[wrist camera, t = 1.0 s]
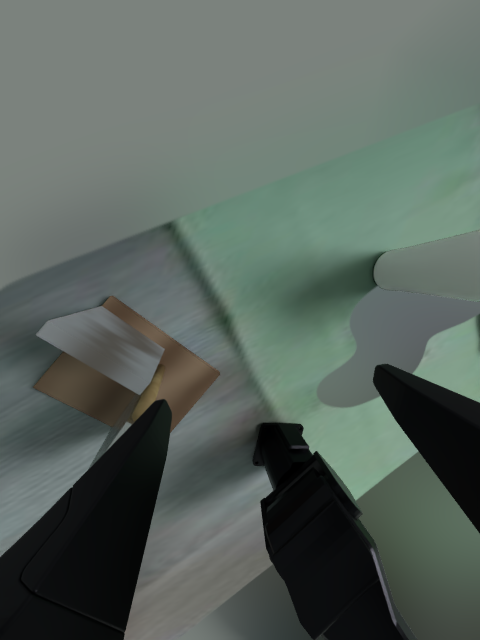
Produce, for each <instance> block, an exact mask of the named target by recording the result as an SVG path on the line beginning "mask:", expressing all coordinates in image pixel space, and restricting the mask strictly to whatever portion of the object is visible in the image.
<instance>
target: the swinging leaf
mask: <svg viewBox="0 0 480 640" xmlns="http://www.w3.org/2000/svg"><path fill="white" fill-rule="evenodd" d="M142 393H143V392H142ZM142 393H141V394H140V395H138V394H137V393H136V394H135V396H134V397H133V399H132V400H131V402H130V403H129V404H128V406H127V407H126V409H125V410H124V411H123V413H122V414H121V416H120V417H119V418H118V420H117V421H116V423H115V424H114V426H113V427H112V428H111V430H110V432H109V433H108V435H107V437H106V439H105V441H104V442H103V444H102V446H101V448H100V449H99V451H98V453H97V455H96V456H95V458H94V460H93V462H92V464H91V465H90V467H91V466H92V465H93V464H94V463H95V462H96V461H97V460H98V459H99V458H100V457H101V456H102V455H103V454H104V453H105V452H106V451H107V450H108V449H109V448H110V447H111V446H112V445H113V444H114V443H115V442H116V441H117V439H118V438H119V437H120V436H121V435H122V434H123V433H124V432H125V431H126V430H127V429H128V428H129V427H130V426H131V425H132V424H133V423H134V421H133V419H132V415H133V412H134V410H135V408H136V406H137V404H138V402H139V399H140V397H141V395H142ZM90 467H89V468H90Z"/></svg>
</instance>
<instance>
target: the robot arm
mask: <svg viewBox="0 0 480 640" xmlns="http://www.w3.org/2000/svg"><path fill="white" fill-rule="evenodd" d="M373 383H374V385H375V387H376V389H377V390H378V392H379V394H380V395H381V397H382V399H383V400H384V402H385V404H386V405H387V407H388V409H389V410H390V412H391V414H392V415H393V417H394V418H395V420H396V421H397V423H398V424H399V425H400V427H401V428H402V430H403V431H404V432H405V434H406V435H407V436H408V438H409V439H410V440H411V442H412V443H413V444H414V446H415V447H416V448H417V450H418V451H419V452H420V454H421V455H422V456H423V458H424V459H425V460H426V462H427V463H428V464H429V466H430V467H431V468H432V470H433V471H434V472H435V474H436V475H437V476H438V478H439V479H440V481H441V482H442V483H443V485H444V486H445V487H446V489H447V490H448V491H449V493H450V494H451V495H452V497H453V498H454V499H455V501H456V502H457V503H458V505H459V506H460V507H461V509H462V510H463V511H464V513H465V514H466V516H467V517H468V518H469V520H470V521H471V522H472V524H473V525H474V526H475V528H476V529H477V530H478V532H479V533H480V403H479V402H477V401H474V400H472V399H470V398H467V397H465V396H462V395H460V394H458V393H455V392H453V391H451V390H448V389H446V388H444V387H441V386H439V385H436V384H434V383H432V382H429V381H427V380H425V379H422V378H420V377H418V376H415V375H413V374H410V373H408V372H406V371H403V370H401V369H399V368H396V367H394V366H392V365H389V364H381V365H377V366H376V367H375V371H374V377H373ZM171 422H172V411H171V409H170V407H169V405H168V403H167V401H166V400H165V399H160V400H156V401H154V402H153V403H152V404H151V405H150V406H149V407H148V408H147V409H146V410H145V412H144V413H143V414H142V415H141V416H140V417H139V418H138V419H137V420H136V421H135V422H134V423H133V424H132V425H131V426H130V427H129V428H128V429H127V430H126V431H125V432H124V433H123V434H122V435H121V436H120V437H119V438H118V439H117V441H116V442H115V443H114V444H113V445H112V446H111V447H110V448H109V449H108V450H107V451H106V452H105V453H104V454H103V455H102V456H101V457H100V458H99V459H98V460H97V461H96V462H95V463H94V464H93V465H92V466H91V467H90V468H89V469H88V471H87V472H86V473H85V474H84V475H83V476H82V477H81V478H80V479H79V480H78V481H77V482H76V483H75V484H74V485H73V488H70V489H69V490H68V491H67V492H66V493H65V494H64V495H63V496H62V497H61V498H60V499H59V500H58V501H57V502H56V503H55V504H54V505H53V506H52V507H51V508H50V510H49V511H48V512H47V513H46V514H45V515H44V516H43V517H42V518H41V519H40V520H39V521H38V522H37V523H35V524H34V525H33V526H32V527H31V528H30V529H29V530H28V531H27V532H26V533H25V534H24V535H23V536H22V537H21V538H20V539H19V540H18V541H17V542H16V543H15V544H14V545H13V546H12V547H10V548H9V549H8V550H7V551H6V552H5V553H4V554H3V555H2V556H1V557H0V640H124V635H125V634H124V632H125V630H126V626H127V622H128V618H129V613H130V609H131V605H132V601H133V597H134V592H135V588H136V584H137V580H138V575H139V571H140V567H141V563H142V558H143V554H144V550H145V546H146V542H147V537H148V533H149V529H150V525H151V520H152V516H153V512H154V508H155V504H156V499H157V495H158V491H159V487H160V482H161V478H162V474H163V470H164V465H165V461H166V456H167V451H168V444H169V436H170V429H171ZM264 427H265V428H264ZM303 429H304V428H303V426H302V425H301V424H286V423H263V424H262V425H261V428H260V432H259V436H258V440H257V444H256V449H255V453H254V457H253V464H254V466H265V469H266V472H267V474H268V477H269V480H270V482H271V485H272V488H273V492H271V493H270V494H269V495H268V496H267V497H266V498H263V499H262V500H261V501H260V503H261V511H262V519H263V528H264V536H265V543H266V549H267V551H268V553H269V557H270V560H271V562H272V563H273V564H274V566H275V568H276V570H277V572H278V573H279V575H280V576H281V577H282V579H283V580H284V581H285V583H286V586H287V588H288V591H289V593H290V596H291V599H292V602H293V604H294V607H295V610H296V613H297V615H298V618H299V621H300V623H301V625H302V626H303V627H304V629H305V630H306V631H307V632H308V634H309V635H310V636H311V638H312V639H314V640H317V638H319V637H320V636H322V637H323V638H324V639H325V640H417V638H416V637H415V635H414V634H413V632H412V631H411V629H410V627H409V626H408V625H407V623H406V621H405V620H404V618H403V617H402V615H401V614H400V612H399V610H398V609H397V607H396V606H395V603H394V600H393V597H392V594H391V591H390V587H389V584H388V581H387V578H386V574H385V571H384V568H383V564H382V561H381V558H380V555H379V552H378V548H377V545H376V543H375V541H374V539H373V538H372V536H371V535H370V534H369V532H368V531H367V529H366V528H365V526H364V525H363V524H362V522H361V521H360V519H359V517H360V516H361V515H362V514H363V513H362V511H361V510H360V508H359V506H358V504H357V503H356V501H355V499H354V497H353V496H352V494H351V492H350V491H349V489H348V488H347V487H346V485H345V484H344V483H343V481H342V480H341V479H340V477H339V476H338V475H337V474H336V472H335V471H334V470H333V469H332V468H331V466H330V465H329V464H328V463H327V462H326V461H325V460H324V458H323V457H322V456H321V455H320V454H319V453H318V452H317V451H316V452H315V453H314V455H312V453H311V452H310V450H309V446H308V444H307V443H306V442H305V440H304V439H303V437H302V433H303ZM256 461H257V462H256Z"/></svg>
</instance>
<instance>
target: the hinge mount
mask: <svg viewBox="0 0 480 640" xmlns="http://www.w3.org/2000/svg"><path fill="white" fill-rule="evenodd" d="M36 336H38V337H40V338H41V339H43V340H45V341H47V342H48V343H50V344H52V345H53V346H55V347H57V348H59V349H60V350H62V351H63V352H62V353H61V355H60V356H59V357H58V358H57V359H56V361H55V362H54V363H53V364H52V365H51V366H50V368H49V369H48V370H47V371H46V372H45V374H44V375H43V376H42V377H41V378H40V379H39V381H38V382H37V383H36V384H35V385H34V386H33V388H35V389H37V390H39V391H41V392H43V393H45V394H47V395H49V396H51V397H53V398H55V399H57V400H59V401H61V402H63V403H65V404H67V405H69V406H71V407H73V408H75V409H77V410H79V411H81V412H83V413H85V414H87V415H89V416H91V417H93V418H95V419H97V420H99V421H101V422H103V423H105V424H107V425H109V426H111V427H113V426H114V424H115V423H116V421H117V420H118V418H119V417H120V416H121V414H122V413H123V411H124V410H125V409H126V407H127V406H128V404H129V403H130V402H131V400H132V399H133V397H134V396H135V394H136V393H137V394H138V395H140V394H141V393H142V392H143V393H142V395H141V397H140V399H139V402H138V404H137V406H136V408H135V410H134V412H133V415H132V419H133V421H134V422H135V421H136V420H137V419H138V418H139V417H140V416H141V415H142V414H143V413H144V412H145V410H146V409H147V408H148V407H149V406H150V405H151V404H152V403H153V402H154V401H156V400H160V399H165V400H166V401H167V403H168V405H169V407H170V409H171V411H172V422H171V429H170V433H171V431H172V430H173V429H174V428H175V427H176V426H177V424H178V423H179V422H180V421H181V420H182V419H183V417H184V416H185V415H186V414H187V413H188V411H189V410H190V409H191V408H192V407H193V406H194V404H195V403H196V402H197V401H198V400H199V399H200V397H201V396H202V395H203V394H204V393H205V392H206V390H207V389H208V388H209V387H210V386H211V385H212V383H213V382H214V381H215V380H216V379H217V377H218V376H219V375H220V372H219V371H218V370H216V369H215V368H213V367H212V366H211V365H209V364H208V363H206V362H205V361H204V360H202V359H201V358H199V357H198V356H197V355H195V354H194V353H192V352H191V351H190V350H188V349H187V348H185V347H184V346H182V345H181V344H180V343H178V342H177V341H175V340H174V339H173V338H171V337H170V336H168V335H167V334H166V333H164V332H163V331H161V330H160V329H159V328H157V327H156V326H154V325H153V324H152V323H150V322H149V321H147V320H146V319H145V318H143V317H142V316H140V315H139V314H138V313H136V312H135V311H133V310H132V309H131V308H129V307H128V306H126V305H125V304H124V303H122V302H121V301H119V300H118V299H117V298H115V297H114V296H110V297H109V298H108V299H107V300H106V302H105V303H104V304H103V305H102V306H100V307H96V308H93V309H89V310H85V311H82V312H78V313H74V314H71V315H67V316H63V317H60V318H56V319H52V320H48V321H47V322H46V323H45V325H44V326H43V327H42V328H41V329H40V330H39V332H38V333H37V334H36Z"/></svg>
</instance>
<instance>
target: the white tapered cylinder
mask: <svg viewBox="0 0 480 640" xmlns="http://www.w3.org/2000/svg"><path fill="white" fill-rule="evenodd" d="M374 280H375V282H376V284H377V285H378V286H379V287H380V288H382V289H384V290H389V291H404V292H411V293H419V294H426V295H434V296H441V297H448V298H455V299H462V300H470V301H477V302H480V230H476V231H472V232H468V233H464V234H460V235H456V236H452V237H448V238H444V239H439V240H435V241H431V242H427V243H423V244H418V245H414V246H410V247H405V248H400V249H394V250H390V251H387V252H385V253H384V254H382V255H381V256H380V257H379V259H378V260H377V262H376V264H375V267H374Z"/></svg>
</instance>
